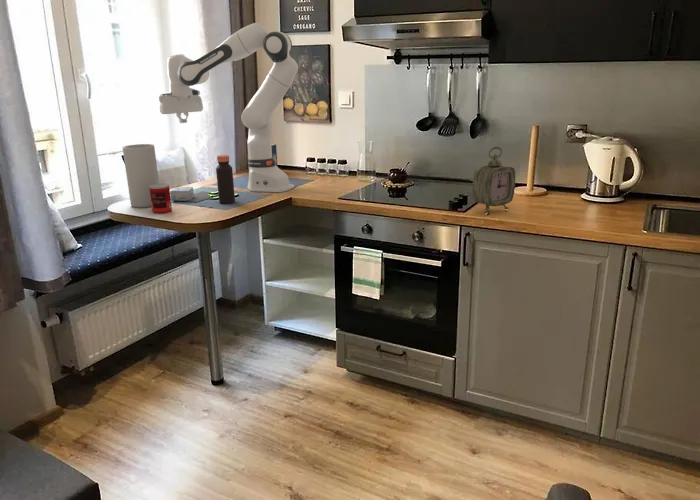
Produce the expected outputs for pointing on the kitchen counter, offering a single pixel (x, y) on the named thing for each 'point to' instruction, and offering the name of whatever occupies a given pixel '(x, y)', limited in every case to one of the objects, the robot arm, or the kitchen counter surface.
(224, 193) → the bottle
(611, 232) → the kitchen counter surface
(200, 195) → the mat
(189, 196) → the medicine box
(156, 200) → the canned food
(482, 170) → the tabletop clock
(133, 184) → the cylinder vase
